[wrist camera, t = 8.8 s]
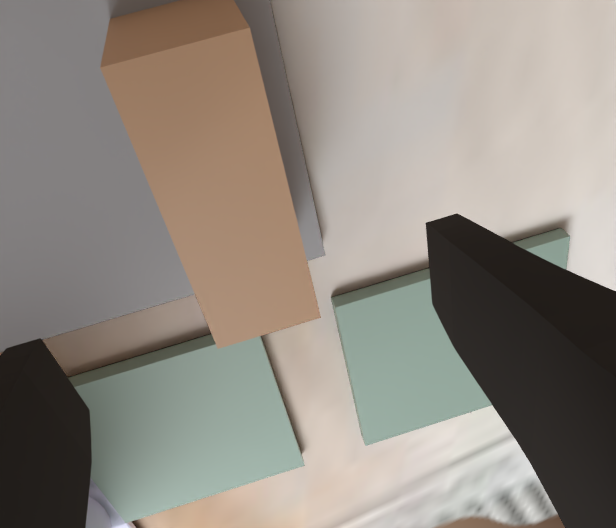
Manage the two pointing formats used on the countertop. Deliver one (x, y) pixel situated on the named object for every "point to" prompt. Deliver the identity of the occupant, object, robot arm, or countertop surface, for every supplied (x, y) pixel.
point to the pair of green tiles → (270, 397)
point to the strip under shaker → (150, 168)
